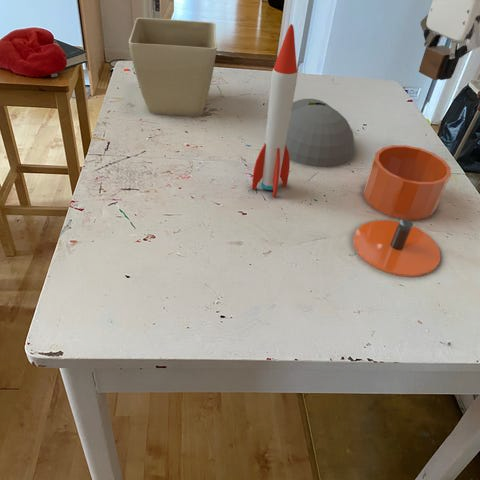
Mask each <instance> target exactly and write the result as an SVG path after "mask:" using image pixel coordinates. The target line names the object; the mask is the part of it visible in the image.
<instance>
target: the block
mask: <svg viewBox="0 0 480 480" xmlns="http://www.w3.org/2000/svg"><path fill="white" fill-rule="evenodd" d="M425 49H426V51H425V50H424V52H425V54H424V53H423V56H424V57H423V56H422V59H423V60H422V59H421V62H422V63H421V62H420V65H421V66H419V69H418V73H420V74H421V75H424V76H426V77H427V78H429V79H432V80H433V81H439V80H440V79H439V75H440V72H441V69H442V66H443V63H444V61H445V59H446V58H447V57H449V53H450V47H448V46H446V45H444V44H443V45H437V46H434V47H427V48H426V47H425Z"/></svg>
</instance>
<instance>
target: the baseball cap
mask: <svg viewBox="0 0 480 480" xmlns="http://www.w3.org/2000/svg"><path fill="white" fill-rule="evenodd" d="M286 147H287V149H288V153H289V159H290V161H292V162H293V163H297V164H301V165H304V166H309V167H316V168H331V167H337V166H341V165H342V164H343V165H344V164H346V163H347V162H349V161H350V160H351V159H352V158H353V156H354V150H355V139H354V132H353V130H352V128H351V126H350V124H349V122H348V120H347V119H346V118H345V117H344V116H343V115H342V114H341V113H340V112H339V111H338V110H336V109H334V108H333V107H332V106H331V105H329V104H328V103H327V102H325V101H322V100H320V99H316V98H302V99H298V100H295V101H293V105H292V110H291V116H290V122H289V127H288V133H287V139H286Z"/></svg>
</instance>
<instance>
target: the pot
mask: <svg viewBox="0 0 480 480" xmlns="http://www.w3.org/2000/svg"><path fill="white" fill-rule="evenodd" d="M451 169H452V168H451V166H450V165H449V164H448V163H447V161H445V159H443V158H442V157H440V156H439V155H437V154H436V153H434V152H431V151H429V150H426V149H423V148H420V147H416V146H412V145H406V144H404V145H401V144H399V145H398V144H392V145H388V146H384V147H381V148H379V149H378V150H377V151H376V152H375V153H374V157H373V159H372V163H371V167H370V169H369V172H368V176H367V180H366V181H365V186H364V189H363V197H364V198H365V200H366V202H367V204H369V205H370V206H371V207H372V208H373V209H374V210H376V211H377V212H379V213H381V214H384V215H386V216H388V217H390V218H395V219H399V220H401V219H407V220H410V221H420V220H424V219H426V218H429V217H431V216H432V215H433V214H434V212H436V210H437V207H438V205H439V204H440V201H441V199H442V196H443V194H444V192H445V189H446V188H447V185H448V183H449V181H450V179H451V177H452V170H451Z"/></svg>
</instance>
